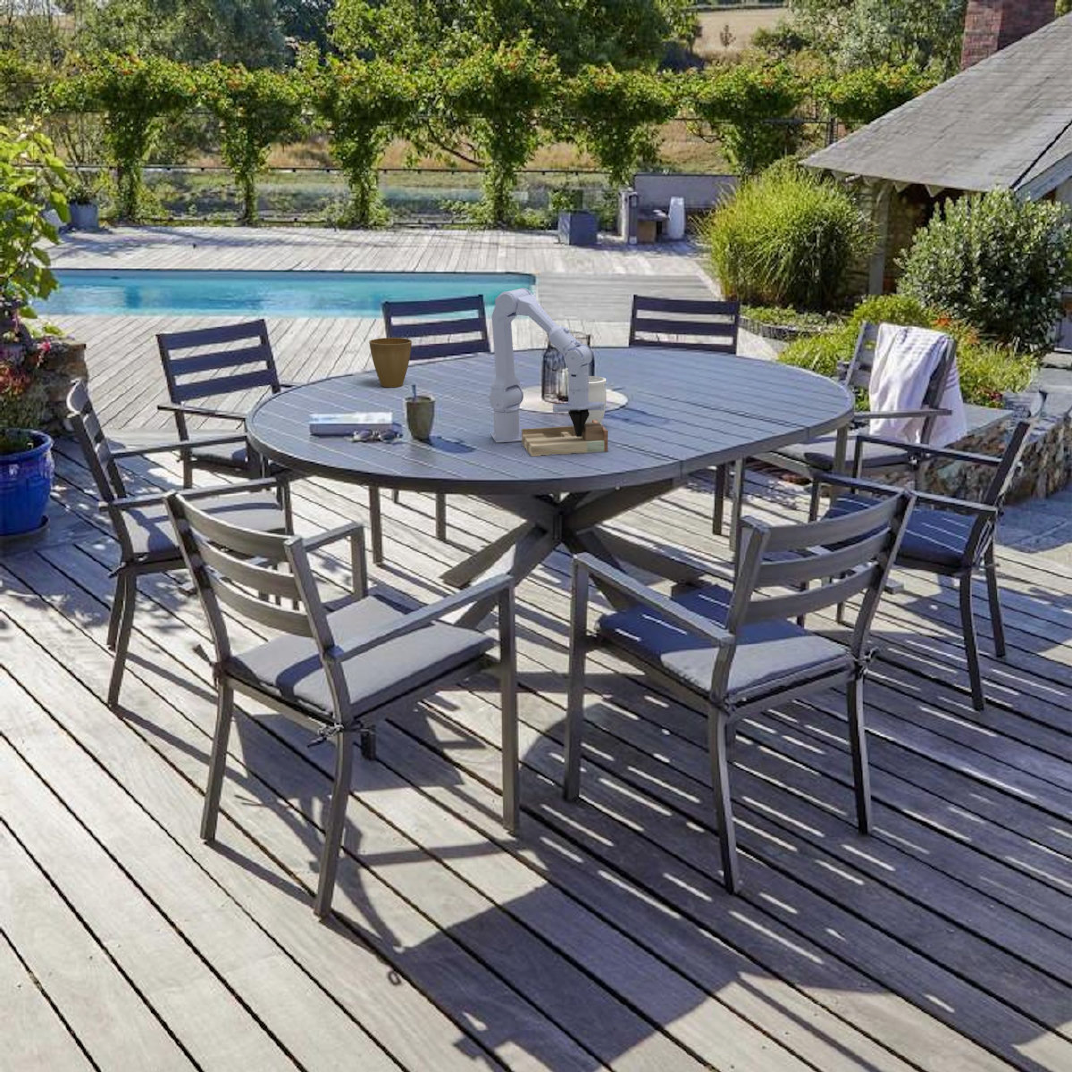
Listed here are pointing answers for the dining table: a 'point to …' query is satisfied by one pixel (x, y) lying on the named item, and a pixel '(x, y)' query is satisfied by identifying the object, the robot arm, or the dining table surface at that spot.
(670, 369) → the dining table surface
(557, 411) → the robot arm
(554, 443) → the trap box
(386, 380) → the plant pot
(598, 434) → the walnut block
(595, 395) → the jar
